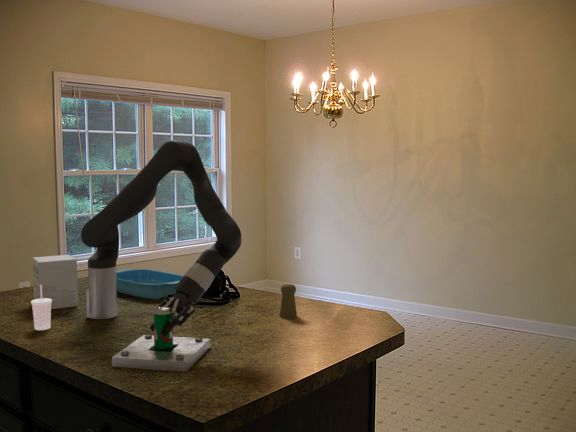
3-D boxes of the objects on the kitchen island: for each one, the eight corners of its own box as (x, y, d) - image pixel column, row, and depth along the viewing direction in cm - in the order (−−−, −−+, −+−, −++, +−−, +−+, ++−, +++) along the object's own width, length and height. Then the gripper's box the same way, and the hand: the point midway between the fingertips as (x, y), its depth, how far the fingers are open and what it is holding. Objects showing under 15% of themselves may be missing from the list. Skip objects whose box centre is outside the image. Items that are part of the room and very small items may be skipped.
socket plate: (112, 366, 153) (111, 354, 152) (143, 343, 172) (143, 332, 172) (186, 371, 149) (185, 359, 149) (210, 347, 169) (209, 336, 169)
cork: (299, 314, 205) (299, 283, 204) (293, 319, 200) (293, 286, 199) (282, 313, 207) (282, 282, 206) (276, 317, 202) (276, 285, 201)
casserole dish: (200, 293, 238) (200, 276, 238) (157, 304, 220) (157, 285, 220) (140, 282, 260) (140, 266, 260) (97, 291, 242) (96, 274, 242)
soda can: (155, 349, 163) (154, 306, 162) (174, 348, 164) (173, 306, 162) (153, 355, 158) (152, 311, 157) (172, 354, 159) (171, 310, 157)
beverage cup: (48, 324, 192) (46, 281, 191) (56, 328, 188) (54, 284, 186) (29, 328, 188) (27, 284, 187) (36, 332, 183) (34, 287, 182)
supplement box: (70, 299, 228) (69, 254, 226) (78, 306, 216) (77, 258, 215) (33, 303, 220) (31, 257, 219) (40, 311, 209) (38, 262, 208)
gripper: (173, 271, 169) (135, 319, 163) (200, 278, 158) (160, 331, 152) (190, 286, 173) (153, 334, 167) (217, 295, 162) (179, 347, 156)
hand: (157, 332), depth 159 cm, fingers closed on soda can, 5 cm apart
